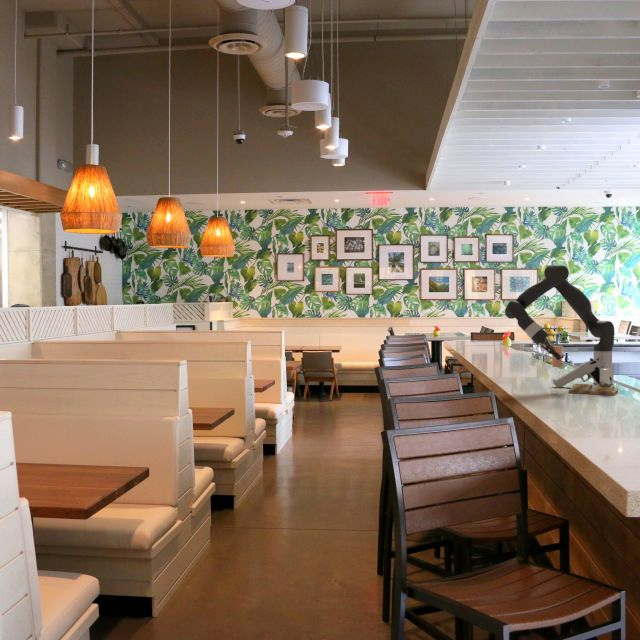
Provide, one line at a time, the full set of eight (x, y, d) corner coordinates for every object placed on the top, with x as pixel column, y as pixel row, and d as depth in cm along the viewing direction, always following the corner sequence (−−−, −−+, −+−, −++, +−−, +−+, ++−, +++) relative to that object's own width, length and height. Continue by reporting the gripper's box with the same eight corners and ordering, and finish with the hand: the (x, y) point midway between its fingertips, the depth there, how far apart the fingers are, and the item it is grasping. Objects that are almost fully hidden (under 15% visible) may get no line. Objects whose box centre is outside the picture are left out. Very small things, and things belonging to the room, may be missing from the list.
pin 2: (604, 389, 350) (604, 368, 350) (611, 390, 346) (611, 369, 346) (597, 390, 349) (597, 368, 348) (604, 391, 344) (604, 369, 344)
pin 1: (557, 366, 361) (557, 345, 361) (563, 366, 357) (563, 346, 357) (550, 366, 359) (550, 346, 359) (556, 367, 355) (556, 346, 355)
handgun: (617, 379, 369) (601, 353, 370) (568, 406, 372) (553, 380, 372) (614, 378, 373) (599, 352, 374) (566, 405, 376) (551, 379, 376)
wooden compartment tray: (568, 393, 350) (568, 385, 349) (574, 390, 361) (574, 383, 361) (613, 395, 339) (613, 388, 339) (618, 392, 350) (618, 385, 350)
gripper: (538, 328, 356) (563, 354, 350) (545, 327, 368) (570, 352, 362) (527, 339, 358) (552, 364, 353) (534, 337, 371) (559, 362, 365)
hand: (561, 358), depth 357 cm, fingers closed on pin 1, 4 cm apart
